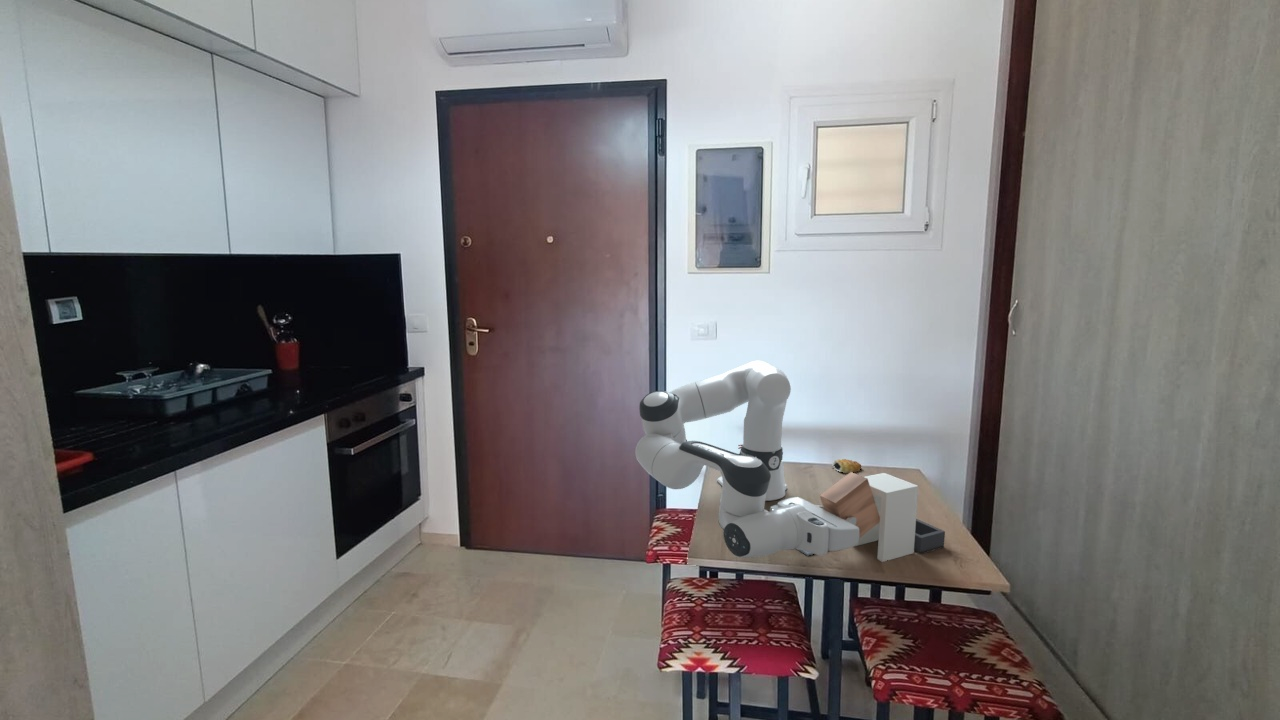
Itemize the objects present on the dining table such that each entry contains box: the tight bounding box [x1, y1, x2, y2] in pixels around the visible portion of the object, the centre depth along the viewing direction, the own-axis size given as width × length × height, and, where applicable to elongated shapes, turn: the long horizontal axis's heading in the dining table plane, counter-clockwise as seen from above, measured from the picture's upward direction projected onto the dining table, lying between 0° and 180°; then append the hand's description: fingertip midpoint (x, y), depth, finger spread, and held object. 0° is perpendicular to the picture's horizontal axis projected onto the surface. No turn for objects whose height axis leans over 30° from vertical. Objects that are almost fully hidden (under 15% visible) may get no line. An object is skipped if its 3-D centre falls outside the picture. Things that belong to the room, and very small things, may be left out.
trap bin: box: [914, 518, 946, 555], centre depth 146 cm, size 12×8×4 cm, turn 25°
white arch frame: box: [855, 472, 919, 563], centre depth 141 cm, size 10×10×16 cm
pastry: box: [831, 458, 863, 474], centre depth 197 cm, size 9×7×4 cm
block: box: [819, 472, 880, 538], centre depth 135 cm, size 5×10×12 cm, turn 115°
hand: (843, 514), depth 134 cm, fingers closed on block, 5 cm apart
